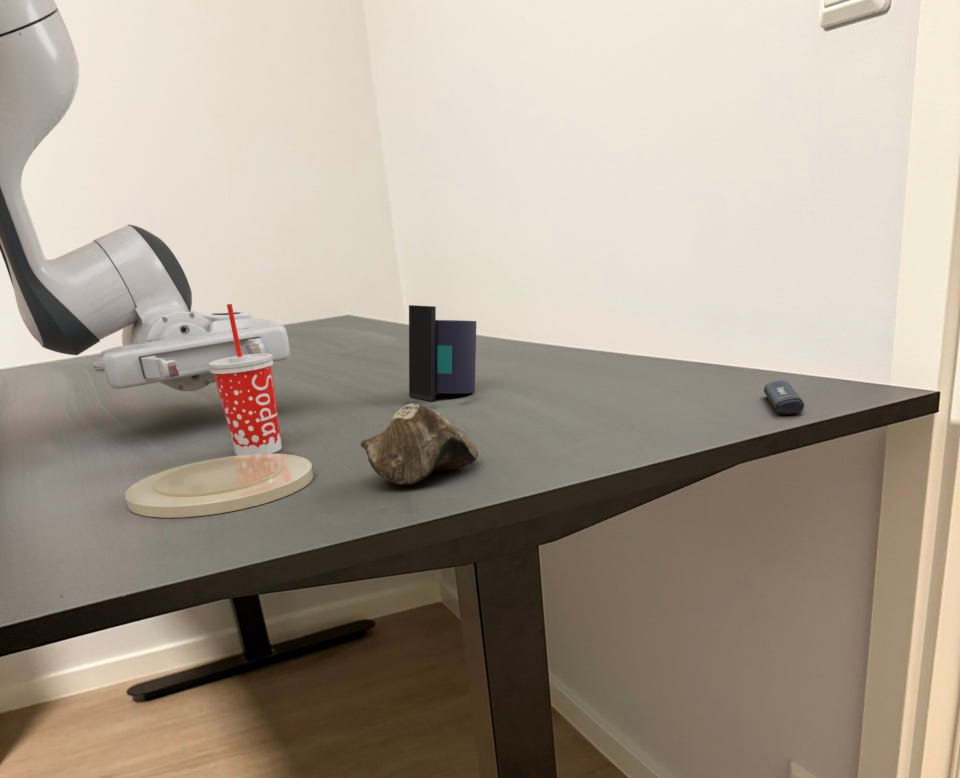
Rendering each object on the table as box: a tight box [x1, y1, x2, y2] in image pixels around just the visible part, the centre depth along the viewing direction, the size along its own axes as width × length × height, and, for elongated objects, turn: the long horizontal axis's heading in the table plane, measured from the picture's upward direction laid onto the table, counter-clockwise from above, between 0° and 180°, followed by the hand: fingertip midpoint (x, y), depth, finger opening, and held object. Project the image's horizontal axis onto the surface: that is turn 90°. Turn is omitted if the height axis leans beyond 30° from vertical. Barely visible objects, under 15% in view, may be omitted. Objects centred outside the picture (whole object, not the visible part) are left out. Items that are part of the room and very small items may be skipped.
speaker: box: [408, 304, 477, 402], centre depth 110 cm, size 8×6×10 cm
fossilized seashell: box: [360, 403, 479, 485], centre depth 79 cm, size 8×7×10 cm
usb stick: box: [763, 379, 805, 416], centre depth 90 cm, size 10×3×2 cm, turn 172°
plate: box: [124, 453, 314, 519], centre depth 83 cm, size 16×16×1 cm
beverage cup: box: [208, 303, 283, 456], centre depth 93 cm, size 6×6×14 cm
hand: (215, 360), depth 99 cm, fingers open, 8 cm apart
